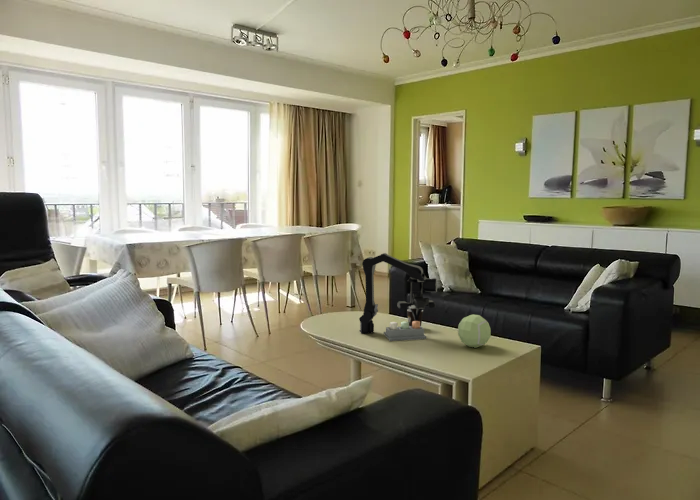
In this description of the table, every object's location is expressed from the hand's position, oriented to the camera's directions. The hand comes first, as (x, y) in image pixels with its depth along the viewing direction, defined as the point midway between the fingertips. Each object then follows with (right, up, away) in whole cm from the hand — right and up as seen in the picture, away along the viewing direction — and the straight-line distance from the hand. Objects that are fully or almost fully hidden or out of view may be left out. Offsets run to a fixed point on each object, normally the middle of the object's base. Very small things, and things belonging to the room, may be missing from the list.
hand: (416, 321), depth 267 cm
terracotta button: (0, -4, 0) cm, 4 cm away
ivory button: (-12, -5, -2) cm, 13 cm away
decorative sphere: (+25, -10, -18) cm, 33 cm away
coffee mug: (+2, -6, +18) cm, 19 cm away
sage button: (-6, -5, -1) cm, 7 cm away
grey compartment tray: (-6, -8, 0) cm, 10 cm away
